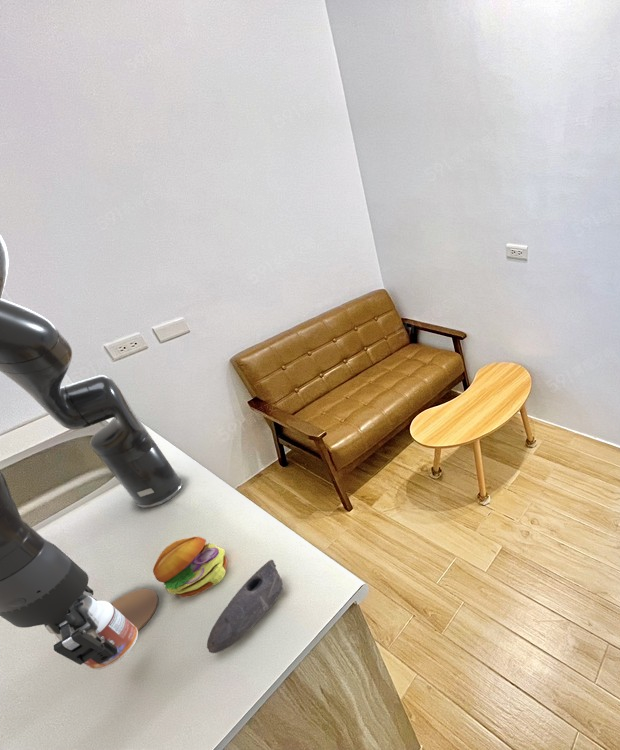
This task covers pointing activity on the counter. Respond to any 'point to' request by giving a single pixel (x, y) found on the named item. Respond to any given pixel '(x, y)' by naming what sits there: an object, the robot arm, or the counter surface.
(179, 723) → the counter surface
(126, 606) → the coaster
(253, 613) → the perforated stone tool
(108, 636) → the pill bottle
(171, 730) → the counter surface
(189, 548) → the cheeseburger
